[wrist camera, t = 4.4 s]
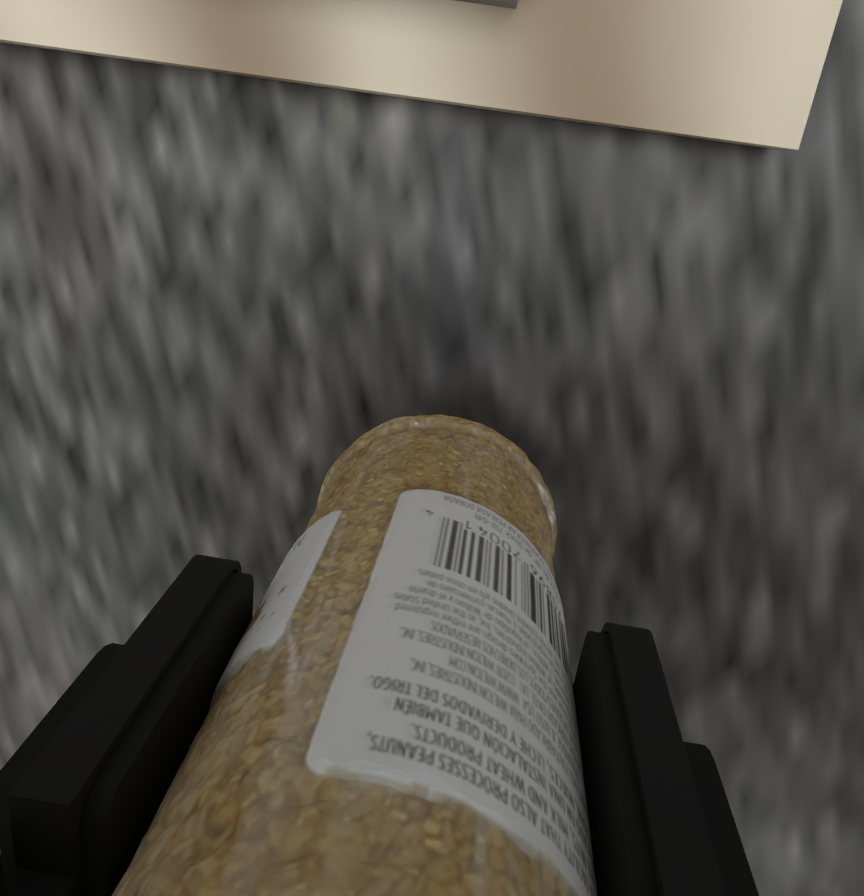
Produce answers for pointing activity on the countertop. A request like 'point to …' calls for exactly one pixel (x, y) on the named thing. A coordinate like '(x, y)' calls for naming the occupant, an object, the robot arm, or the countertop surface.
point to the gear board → (488, 53)
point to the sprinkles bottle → (393, 696)
